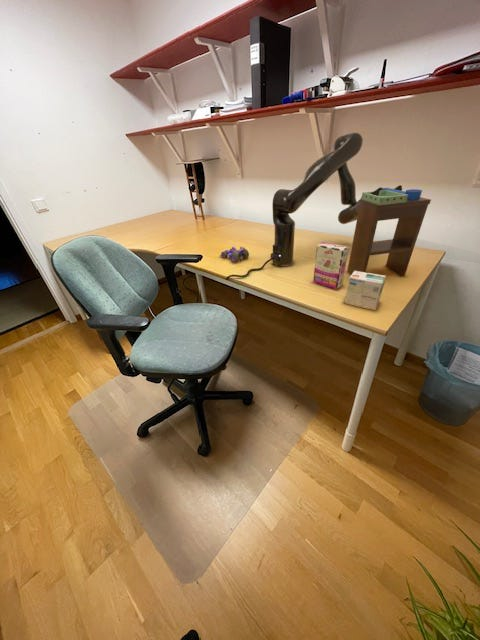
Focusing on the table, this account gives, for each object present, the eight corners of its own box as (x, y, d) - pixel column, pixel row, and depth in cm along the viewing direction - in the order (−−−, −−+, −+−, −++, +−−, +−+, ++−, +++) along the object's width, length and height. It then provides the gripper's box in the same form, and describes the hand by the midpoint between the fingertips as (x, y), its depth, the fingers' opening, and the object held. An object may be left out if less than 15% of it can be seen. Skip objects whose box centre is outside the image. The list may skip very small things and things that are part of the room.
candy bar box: (342, 285, 105) (350, 246, 95) (336, 290, 102) (343, 250, 93) (318, 278, 112) (323, 241, 102) (312, 282, 109) (316, 244, 99)
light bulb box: (379, 302, 93) (387, 275, 87) (375, 311, 88) (383, 283, 82) (348, 295, 98) (354, 269, 92) (343, 303, 94) (349, 276, 87)
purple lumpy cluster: (230, 252, 145) (229, 241, 141) (249, 258, 136) (248, 246, 132) (217, 257, 140) (216, 246, 136) (236, 264, 131) (235, 252, 127)
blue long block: (422, 199, 91) (425, 190, 90) (410, 200, 91) (412, 192, 89) (388, 191, 107) (390, 184, 106) (377, 192, 107) (379, 185, 105)
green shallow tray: (406, 202, 89) (408, 194, 88) (379, 205, 88) (381, 197, 87) (385, 196, 99) (387, 189, 98) (361, 199, 98) (362, 192, 97)
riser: (405, 276, 107) (431, 199, 90) (360, 282, 106) (378, 205, 88) (387, 265, 117) (407, 194, 100) (346, 271, 115) (359, 199, 98)
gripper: (352, 197, 117) (373, 180, 101) (380, 194, 119) (407, 177, 102) (353, 213, 118) (375, 200, 102) (382, 210, 119) (408, 196, 103)
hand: (391, 188), depth 102 cm, fingers open, 8 cm apart
